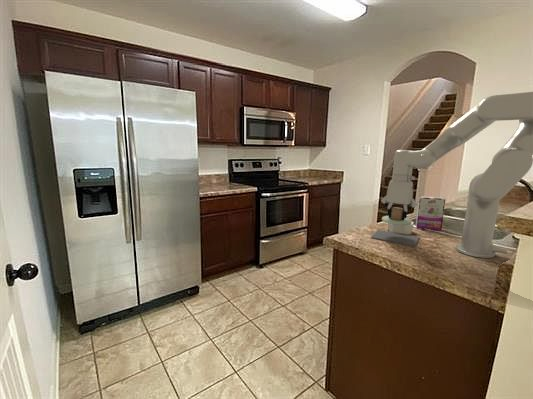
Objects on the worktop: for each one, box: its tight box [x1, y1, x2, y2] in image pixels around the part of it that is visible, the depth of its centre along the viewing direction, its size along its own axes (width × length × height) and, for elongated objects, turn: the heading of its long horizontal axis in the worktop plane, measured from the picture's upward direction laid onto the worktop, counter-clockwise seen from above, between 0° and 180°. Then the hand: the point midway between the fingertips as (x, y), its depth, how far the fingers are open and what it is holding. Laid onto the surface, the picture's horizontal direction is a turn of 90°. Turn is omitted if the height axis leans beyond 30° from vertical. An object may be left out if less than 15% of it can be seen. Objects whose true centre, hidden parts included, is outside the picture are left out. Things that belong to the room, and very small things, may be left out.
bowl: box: [387, 220, 415, 235], centre depth 132 cm, size 11×11×5 cm
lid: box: [381, 206, 412, 225], centre depth 120 cm, size 12×12×6 cm
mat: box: [371, 229, 420, 248], centre depth 122 cm, size 18×13×1 cm
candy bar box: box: [415, 195, 446, 232], centre depth 135 cm, size 11×5×16 cm, turn 68°
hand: (396, 217), depth 120 cm, fingers closed on lid, 5 cm apart
